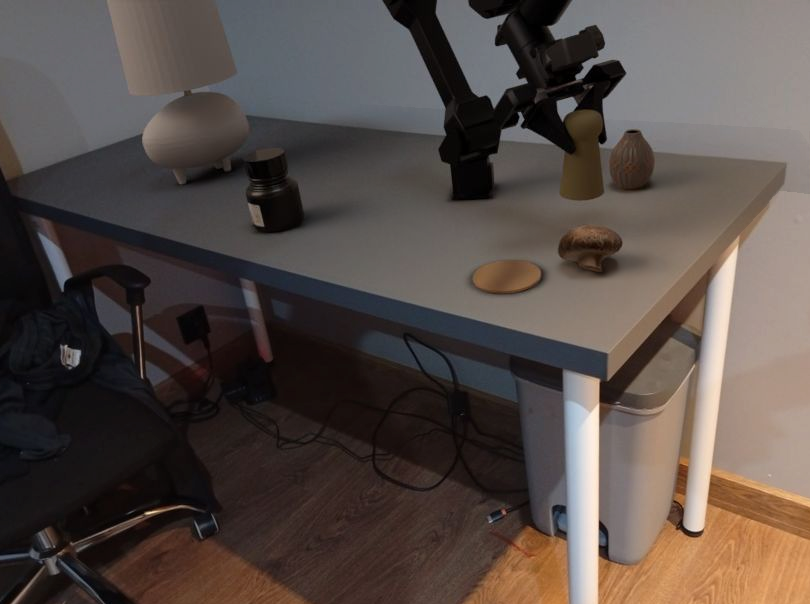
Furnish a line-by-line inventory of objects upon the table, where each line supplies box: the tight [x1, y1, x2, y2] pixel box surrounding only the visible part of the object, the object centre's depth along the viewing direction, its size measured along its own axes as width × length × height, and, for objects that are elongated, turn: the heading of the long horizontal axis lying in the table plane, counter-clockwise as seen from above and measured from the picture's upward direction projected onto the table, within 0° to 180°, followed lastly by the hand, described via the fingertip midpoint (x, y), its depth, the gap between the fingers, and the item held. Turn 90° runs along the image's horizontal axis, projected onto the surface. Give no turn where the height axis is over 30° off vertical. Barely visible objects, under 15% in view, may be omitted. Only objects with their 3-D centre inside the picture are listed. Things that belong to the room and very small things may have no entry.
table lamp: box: [106, 0, 250, 185], centre depth 146 cm, size 23×22×40 cm
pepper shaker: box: [559, 110, 605, 202], centre depth 98 cm, size 6×6×11 cm
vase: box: [608, 128, 656, 190], centre depth 117 cm, size 7×7×9 cm
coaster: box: [472, 259, 542, 295], centre depth 97 cm, size 9×9×1 cm
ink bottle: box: [242, 147, 305, 233], centre depth 123 cm, size 10×9×12 cm
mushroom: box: [557, 224, 623, 273], centre depth 95 cm, size 8×8×6 cm
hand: (588, 147), depth 97 cm, fingers closed on pepper shaker, 5 cm apart
